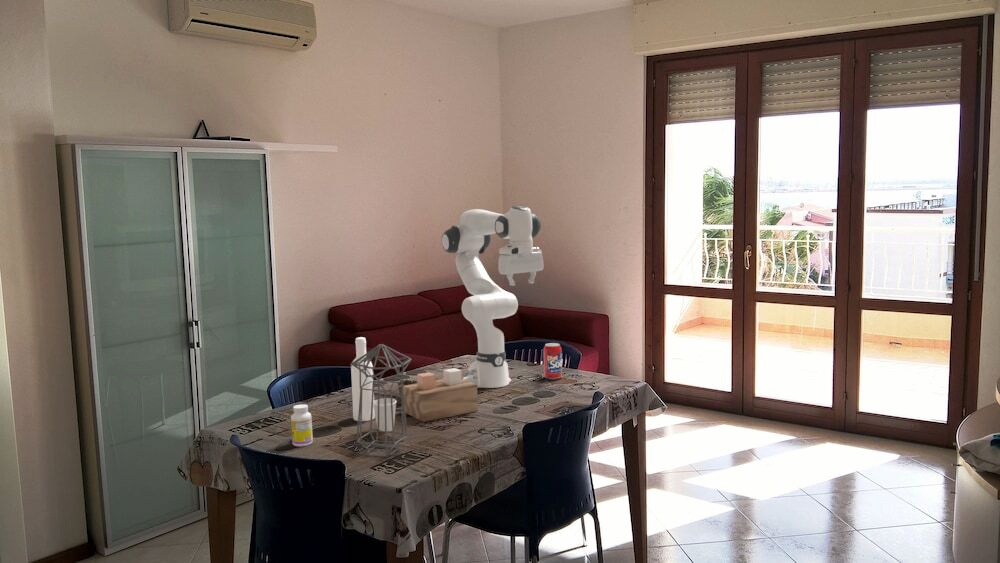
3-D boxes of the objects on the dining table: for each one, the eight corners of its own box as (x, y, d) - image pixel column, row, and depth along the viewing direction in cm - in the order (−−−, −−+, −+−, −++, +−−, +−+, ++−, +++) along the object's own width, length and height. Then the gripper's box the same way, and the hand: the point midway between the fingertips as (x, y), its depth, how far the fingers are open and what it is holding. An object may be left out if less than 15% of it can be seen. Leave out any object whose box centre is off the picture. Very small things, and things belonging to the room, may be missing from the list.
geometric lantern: (371, 442, 256) (369, 338, 252) (415, 447, 251) (414, 341, 248) (348, 458, 241) (346, 347, 237) (394, 463, 236) (393, 350, 233)
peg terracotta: (418, 397, 288) (417, 374, 287) (430, 395, 290) (429, 372, 289) (424, 400, 284) (423, 376, 283) (436, 398, 286) (435, 374, 285)
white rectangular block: (444, 393, 294) (443, 369, 293) (455, 391, 296) (454, 368, 295) (450, 395, 289) (449, 372, 288) (462, 393, 292) (461, 370, 291)
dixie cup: (376, 425, 274) (374, 398, 273) (399, 425, 274) (398, 398, 273) (371, 433, 266) (370, 404, 265) (395, 432, 266) (394, 404, 265)
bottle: (368, 422, 279) (364, 340, 275) (349, 420, 282) (345, 339, 278) (379, 416, 286) (375, 336, 283) (360, 414, 289) (356, 335, 286)
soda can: (550, 375, 343) (549, 341, 342) (565, 377, 339) (564, 343, 337) (540, 378, 337) (540, 345, 335) (556, 381, 332) (555, 346, 331)
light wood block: (403, 411, 291) (402, 385, 290) (457, 401, 303) (456, 376, 302) (422, 421, 278) (421, 394, 277) (477, 410, 290) (477, 384, 289)
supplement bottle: (294, 441, 260) (292, 403, 258) (314, 440, 260) (312, 402, 259) (290, 447, 253) (288, 409, 251) (311, 446, 253) (309, 408, 252)
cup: (420, 400, 307) (420, 380, 306) (411, 404, 300) (410, 384, 300) (404, 398, 310) (404, 378, 309) (394, 403, 304) (394, 383, 303)
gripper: (536, 246, 304) (536, 281, 306) (495, 249, 292) (496, 286, 293) (547, 247, 299) (547, 282, 301) (506, 250, 287) (506, 287, 288)
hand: (521, 284), depth 297 cm, fingers open, 8 cm apart
